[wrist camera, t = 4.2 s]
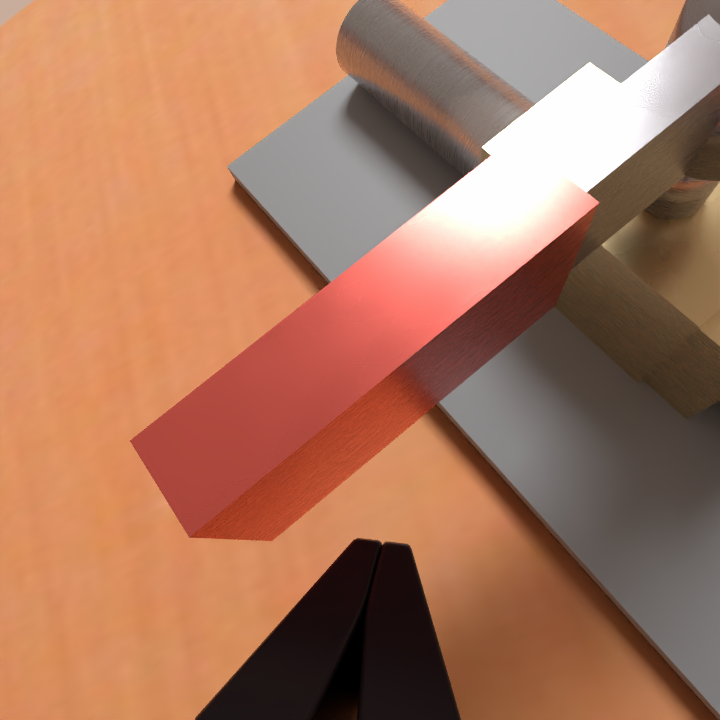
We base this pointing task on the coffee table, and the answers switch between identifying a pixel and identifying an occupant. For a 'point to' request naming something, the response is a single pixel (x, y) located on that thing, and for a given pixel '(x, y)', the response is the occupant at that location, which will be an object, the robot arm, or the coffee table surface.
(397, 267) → the valve lever
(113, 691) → the coffee table surface
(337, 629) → the robot arm
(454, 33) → the mounting board
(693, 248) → the valve body
